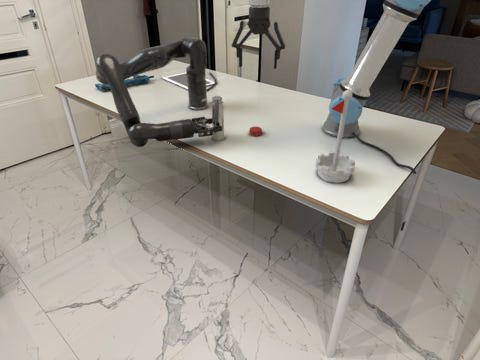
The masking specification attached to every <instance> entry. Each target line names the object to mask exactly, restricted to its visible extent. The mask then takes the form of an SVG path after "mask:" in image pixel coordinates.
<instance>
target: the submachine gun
mask: <svg viewBox="0 0 480 360" xmlns="http://www.w3.org/2000/svg"><path fill="white" fill-rule="evenodd" d="M153 78H155V75H147V74H143V75H142V74H139V75H135V76H132V78H127V79H125V80H124V81H125V84H126V87H127V86H132V85H136V84H137V85H138V84H140V83H147V82H148V81H150V79H153ZM94 86H95V88H97V90H99V91H101V92H104V91H107V90H109V91H111V88H110V86H109V85H106V84H102V83H94Z"/></svg>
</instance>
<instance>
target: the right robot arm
mask: <svg viewBox="0 0 480 360" xmlns="http://www.w3.org/2000/svg"><path fill="white" fill-rule="evenodd" d="M431 1H432V0H384V2H383V3H382V7H383V13H382V15H381V17H380V19H379V20H378V22H377V24H376V26H375V28H374V30H373V32H372V34H371V35H370V36H369V39H368V41H367V43H366V44H365V46H364V48H363V49H362V52H361V54H360V56H359V57H358V59H357V61H356V63H355V65H354V66H353V68H352V70H351V72H350V74H349V75H348V76H339V77H336V78H335V79H334V82H333V84H332V85H333V86H332V87H333V88H332V93H331V99H330V103H329V105H328V115H327V117H326V120H325V121H324V123H323V126H322V130H323V132H324V133H325V134H326V135H329V136H332V137H335V138H337V137H338V132H339V126H340V120H341V114H342V113H339V112H337V111H335V110H333V109H331V108H333V107H334V106H336V105H337V104H339V103H340V102H342V101H343V100H344V99H343V97H342V95H343V92H344V91H346V90H349V91H351V92H352V98H351V99H349V103H348V109H347V114H346V120H345V125H344V131H343V136H342V139H349V138H354V137H355V138H356V139H357V140H358V142H360V143H362V144H364V145H366V146H368V147H371V148H374V149H376V150H378V151H379V152H381V153H383V154H384V155H386V156H388V157H389V158H390V160H391V161H392V162H393V164H395V165H396V166H397V167H399V168H400V167H401V168H403V169H407V170H410V171H411V172H412V173H413V174H414V175H417V172H416V170H415V168H413V167H412V166H410V165H407V164H401V163H399V162H397V161H396V160H395V158H394V157H393V156H392V154H391V153H389V152H388V151H386V150H384V149H382V148H381V147H379V146H377V145H375V144H372V143H369V142H367V141H364V140H362V139H361V138H360V136H358V135H359V132H360V125H359V119H360V117H361V115H362V113H363V108H364V106H365V104H366V103H367V101H368V100H369V98H370V96H371V92H370V89H371V87H372V85H373V83H374V82H375V80H376V78H377V76H378V75H379V73H380V71H382V68H383V67H384V65H385V63H386V62H387V60H388V58H389V57H390V55H391V53H392V52H393V50H394V48H395V47H396V45H397V44H398V42H399V40H400V39H401V37H402V35H403V33H404V32H405V30H406V28H407V26H408V25H409V24H410V23H411V22H414V21H416V20H418V18H419V16H420V15H421V13H422V11H423V10H424V8H425V7H426V6H427V5H428V4H429V3H430V2H431ZM248 5H249V7H248V21H247V20H244V19H242V20H240V22H239V28H238V30H237V32H236V34H235V36H234V39H233V41H232V43H231V47H232V48H235V51H236V53H235V55H236V58H237V59H238V67H239V68H242V67H243V47H242V46H243V45H244V44H245V42H246V41H247V40H248V38H249V37H250V36H251V35H252V34H253V35H256V36H257V35H260V36H263V35H265V36H266V37H267V38H268V40H269V41H270V43H271V44H272V45H273V47H274V48H275V50H274V59H273V69H274V70H275V69H277V65H278V60H280V59H281V51H282V50H285V49H286V44H285V43H286V42H285V41H284V38H283V35H282V33H281V30H280V28H279V22H278V20H275V21H271V20H270V17H271V8H270V5H271V0H248ZM246 26H247V27H248V29H249V30H248V32H247V33H246V34H245V35H244V36H243V38H242V39H241V40H240V42H239V43H238V41H239V39H240V37H241V35H242V32H243V30H244V28H246ZM270 27H272V29H274V32H275V35H276V37H277V40H278V42H279V43H278V42H277V40H276V39H275V37H274V36H273V35H272V33H271V32H270V30H269V28H270ZM405 225H406V221H403V222H401V227H400V231H402V232H403V231H404V228H405Z"/></svg>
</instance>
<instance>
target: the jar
mask: <svg viewBox="0 0 480 360" xmlns="http://www.w3.org/2000/svg"><path fill="white" fill-rule="evenodd" d="M210 105H211V106H210V107H211V118H212V124H211V125H212V126H211V127H215V126H222V131H220V132H214V133H213V136H212V140H214V141H217V142H218V141H223V140H224V139H225V116H224V115H225V113H224V111H225V109H224V100H223V97H222V96H221V95H214V96H211V102H210Z"/></svg>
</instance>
